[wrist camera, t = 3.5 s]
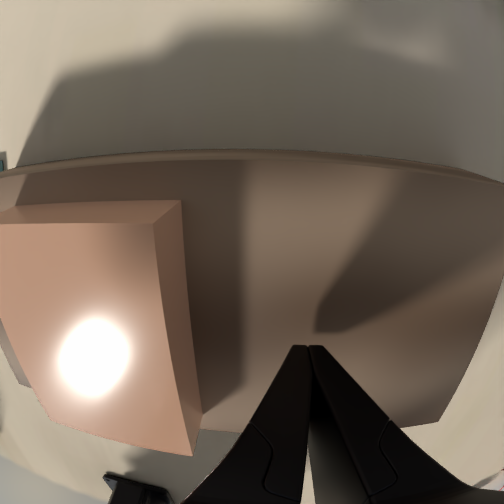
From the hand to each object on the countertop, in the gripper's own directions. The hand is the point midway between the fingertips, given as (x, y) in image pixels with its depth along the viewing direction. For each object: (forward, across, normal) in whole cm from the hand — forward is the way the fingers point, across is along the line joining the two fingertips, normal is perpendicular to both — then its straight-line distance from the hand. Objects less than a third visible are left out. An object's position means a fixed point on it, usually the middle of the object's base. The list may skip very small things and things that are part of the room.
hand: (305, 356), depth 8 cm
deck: (+5, +3, 0) cm, 6 cm away
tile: (+1, +6, 0) cm, 6 cm away
